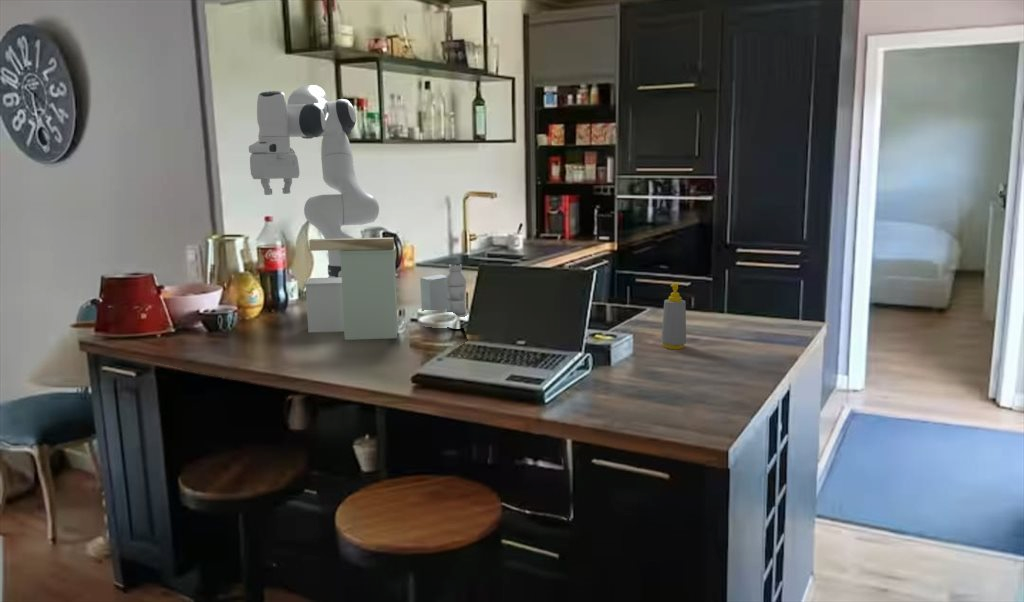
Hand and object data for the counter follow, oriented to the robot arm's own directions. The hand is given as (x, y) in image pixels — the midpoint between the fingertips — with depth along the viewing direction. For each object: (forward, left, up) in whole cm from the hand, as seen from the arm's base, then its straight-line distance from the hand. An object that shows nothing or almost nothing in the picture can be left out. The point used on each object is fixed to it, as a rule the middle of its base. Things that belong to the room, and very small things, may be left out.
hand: (277, 194), depth 239 cm
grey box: (0, +13, -42) cm, 44 cm away
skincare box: (-4, +46, -42) cm, 63 cm away
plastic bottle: (+7, +52, -42) cm, 67 cm away
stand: (+11, +27, -42) cm, 51 cm away
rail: (+11, +22, -16) cm, 29 cm away
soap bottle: (+37, +111, -42) cm, 124 cm away
